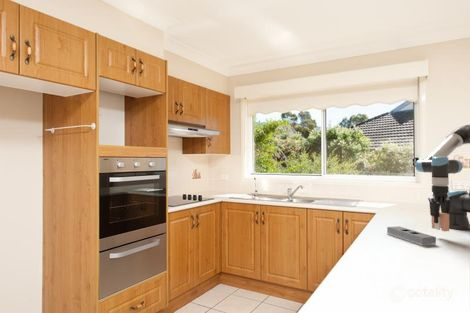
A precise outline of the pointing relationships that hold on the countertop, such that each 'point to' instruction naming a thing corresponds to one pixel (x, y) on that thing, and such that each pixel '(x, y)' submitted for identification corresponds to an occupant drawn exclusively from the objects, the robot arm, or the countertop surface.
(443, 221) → the tall peach block
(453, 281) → the countertop surface
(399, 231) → the rail
